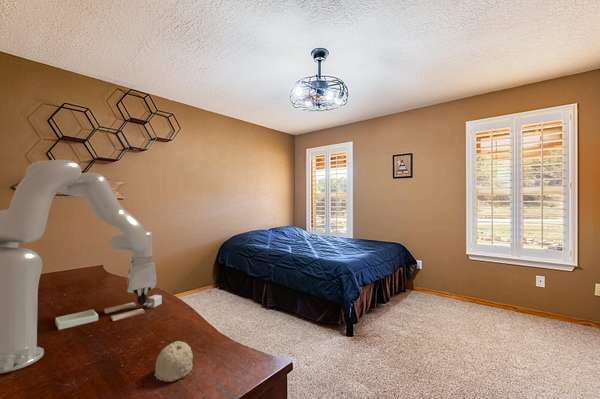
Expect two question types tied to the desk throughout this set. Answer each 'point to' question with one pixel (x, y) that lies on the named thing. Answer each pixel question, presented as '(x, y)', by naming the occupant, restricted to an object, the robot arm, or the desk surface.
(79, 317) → the tray
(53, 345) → the desk surface
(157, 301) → the usb wall charger
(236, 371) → the desk surface
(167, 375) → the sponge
